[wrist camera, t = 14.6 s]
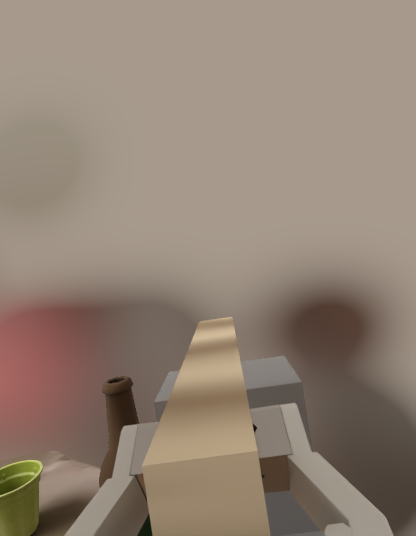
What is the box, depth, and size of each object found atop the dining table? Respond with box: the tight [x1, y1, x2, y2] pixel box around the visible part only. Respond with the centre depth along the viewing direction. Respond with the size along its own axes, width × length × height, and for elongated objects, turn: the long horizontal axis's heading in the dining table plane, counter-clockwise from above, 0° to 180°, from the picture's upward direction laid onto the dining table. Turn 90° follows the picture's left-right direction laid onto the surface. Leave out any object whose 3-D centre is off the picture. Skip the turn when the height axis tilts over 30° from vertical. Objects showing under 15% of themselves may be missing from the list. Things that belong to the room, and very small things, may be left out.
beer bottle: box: [99, 376, 153, 536], centre depth 43 cm, size 8×8×24 cm
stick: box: [142, 317, 271, 536], centre depth 17 cm, size 19×2×3 cm, turn 177°
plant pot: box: [0, 460, 43, 536], centre depth 54 cm, size 9×9×9 cm
